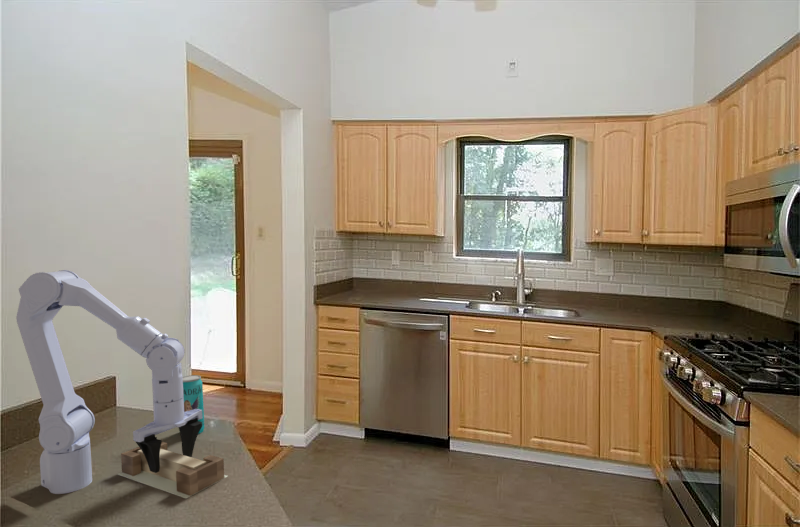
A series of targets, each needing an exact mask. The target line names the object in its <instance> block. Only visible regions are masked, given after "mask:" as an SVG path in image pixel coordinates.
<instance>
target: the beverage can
mask: <svg viewBox="0 0 800 527" xmlns="http://www.w3.org/2000/svg"><path fill="white" fill-rule="evenodd" d="M183 395H184V396H183V397H184V412H186V411H190V410H194V409H200V410H202V419H200V420H198V421H200V422H202V428H201V429H200V431H199V433H198V435H199V434H202V433H203V432H204V430H205V414H204V411H205V410H204V408H205V407H204V388H203V381H202V376H201V375H197V374H196V375H195V374H191V375H184V376H183Z"/></svg>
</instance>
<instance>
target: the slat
mask: <svg viewBox="0 0 800 527" xmlns="http://www.w3.org/2000/svg"><path fill="white" fill-rule="evenodd" d="M138 454H140V461H141V470H142V471H145V472H148V473H151V474H154V475H157V476H160V477H163V478H166V479H169V480H172V481H176V471H177V470H179V469H181V468H183V467H184V468H187V469H191V470H196V469H198V468H200V467H202V466H204V465H206V461H203V460H202V459H198V458H196V457H193V456H192V457H188V456H185V455H183V454H181V453H177V452H174V451H170V450H168V451H167V450H164V449H160V455H159V459H160V470H159V472H157V473H154V472H151V471H150V469H149V466H148V463H147V460H146V458H145V456H144V454H143V452H142V450H139V451H138Z"/></svg>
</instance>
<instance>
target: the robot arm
mask: <svg viewBox="0 0 800 527" xmlns="http://www.w3.org/2000/svg"><path fill="white" fill-rule="evenodd" d="M18 293H19V295H20V299H19V304H18V308H17V313H16V316H15V317H16V318H15V319H16V323H17V327H18V330H19V333H20V336H21V339H22V342H23V346H24V348H25V352H26V355H27V357H28V361H29V364H30V367H31V370H32V373H33V376H34V379H35V380H34V381H35V383H36V385H37V388H38V391H39V395H40V399H41V402H42V404H43V406H42V408H41V412H40V414H39V417H38V423H39V429H40V430H39V433H38V434H39V435H38V440H39V444H40V446H41V447H42V448H43V450H42V453H41V454H40V458H39V468H40V470H39V471H40V485H41V487H43V488H46V489H48V490H49V492H50V493H51V494H54V495H61V494H69V493H72V492H76V491H80V490H82V489H84V488H86V487H88V486H89V485H90V484H91V483H92V482H93V469H92V468H93V466H92V454H91V453H92V452H91V450H92V449H91V438H90V432H91V431H92V430H93V428H94V426H95V422H96V419H95V415H94V412H92V411H91V410H90V409H89V407H88V406H87V405H86V403H85V399H84V398H83V397H81V396H80V395H78V394H77V393H76V392H75V390H74V389H75V388H74V386H73V383H72V380H71V376H70V373H69V370H68V367H67V364H66V360H65V357H64V355H63V351H62V348H61V345H60V341H59V339H58V335H57V332H56V329H55V326H54V323H53V320H54V318H55V317H56V315H57V314H58V313H59V312H60V310H62V307H64V306H68V307H69V306H70V307H80V308H82V309H84V310H85V311H86V312H89V313H91V315H93V316H94V317H96V318H98V319H99V320H101V321H102V322H104V323H105V324H107V325H108V326H110V327H111V328H113V329H115V333H116V338H117V339H118V340H119V341H120V342H121V343H123V344H125V345H126V346H127V347H128V348H130V349H131V350H133V351H134V352H135V353H137V354H139V356H140V357H142V358H144V359H145V361H146V365H147V366H148V368H149V369H150V370H151V385H152V386H151V387H152V405H153V408H152V409H153V421H151V422H149V423H147V424H146V425H144V426H142V427H140V428H137V429H136V430H133V431H132V437H133V441H134V442H135V444H136V445H137V447H140V449H141V450H142V452H143V454H144V456H145V458H146V460H147V463H148V466H149V469H150V471H151V472H154V473H157V472H159V470H160V459H159V455H160V447H161V443H162V442H163V440H161V439H158V437H157V436H156V435H159V434H162V433H164V432H168V431H170V430H173V429H175V428H178V430H179V433H180V439H181V440H180V441H181V453H182V455H185V456H188V457H192V458H193V453H194V448H195V444H196V440H197V438H198V435H199V434H198V433H199V431H200V429H201V428H202V422H200V421H198V420H200V419H202V410H200V409H194V410H190V411H186V412H184V397H183V396H184V395H183V377H184V376H183V368H182V367H183V366H182V360H183V359H184V356H185V353H186V352H185V348H184V345H183V344H182V342H181V341H180V340H179V339H178V338H176V337H170V336H169V335H168V333H166V332H165V333H162V332H161V331H160V330H158V329H156V328H155V327H154V326H153V325H151V324H150V323H151V320H150V319H149V318H147V317H140V316H138V315H137V316H136V315H135V316H129V315H128V314H126V313H125V312H124V311H122V310H121V309H120V308H119V307H118V306H117V305H115V304H114V303H113V302H112V301H110V300H109V299H108V298H107V297H106V296H104V295H103V294H102V293H101V292H99V291H98V290H97V289H96V288H95V287H94V286H92V285H91V283H89V281H88V280H87V279H85V278H82V277H79V275H78V274H77V273H76V272H74V271H73V270H72V271H71V270H68V269H62V270H57V271H50V272H49V271H47V272H45V271H40V272H35V273H33V274H31V275H30V276H28V278H26V279H25V280H24V282H23V283H22V285H20V286H19V288H18Z"/></svg>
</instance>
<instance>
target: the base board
mask: <svg viewBox="0 0 800 527" xmlns="http://www.w3.org/2000/svg"><path fill="white" fill-rule="evenodd" d="M116 475H117V476H121V477H124V478H127V479H129V480H131V481H135V482H138V483H141V484H142V485H143V484H144V485H147V486H149V487H151V488H154V489H158V490H161V491H164V492H166V493H169V494H172V495H175V496H177V497H180V498H183V499H188V498H190V497H191V496H193V495H195V494H197V493H199V492H197V493H195V494H193V495H191V496H189V495H186V494H183V493H181V492H178V491H177V483H176V481H172V480H169V479H166V478H163V477H160V476H157V475H154V474H151V473H148V472H145V471H142V470H141V473H140V474H137V475H135V476H131V475H128V474H126V473H123V472H122V471H121V472H120V473H117V474H116ZM227 477H229V475H226V474H224V478H223V479H222V480H224V479H225V478H227ZM215 484H216V483H214V484H212V485H215ZM212 485H210V486H208V487H206V488H205V489H207V488H209V487H211V486H212Z"/></svg>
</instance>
